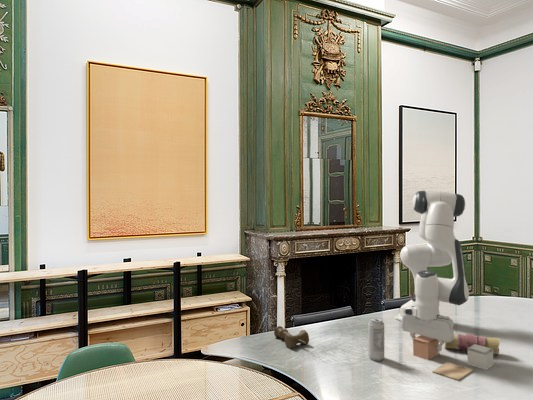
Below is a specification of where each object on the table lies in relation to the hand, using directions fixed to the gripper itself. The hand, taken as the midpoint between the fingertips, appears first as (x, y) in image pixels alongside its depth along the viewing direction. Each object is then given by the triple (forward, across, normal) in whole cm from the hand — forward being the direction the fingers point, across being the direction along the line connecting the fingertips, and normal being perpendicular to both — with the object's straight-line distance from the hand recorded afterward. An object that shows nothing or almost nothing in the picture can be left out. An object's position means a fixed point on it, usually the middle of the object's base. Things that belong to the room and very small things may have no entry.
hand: (426, 347), depth 156 cm
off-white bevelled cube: (+3, -18, -6) cm, 19 cm away
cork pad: (+3, -14, +8) cm, 16 cm away
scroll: (+3, -10, -17) cm, 20 cm away
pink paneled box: (+3, 0, 0) cm, 3 cm away
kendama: (+3, +45, +31) cm, 55 cm away
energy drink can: (+3, +12, +18) cm, 22 cm away
